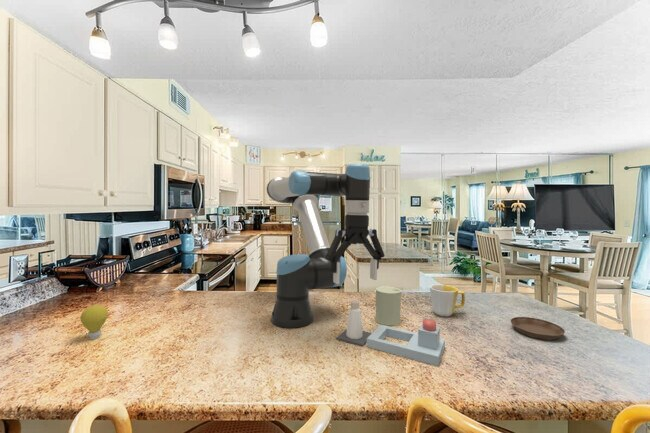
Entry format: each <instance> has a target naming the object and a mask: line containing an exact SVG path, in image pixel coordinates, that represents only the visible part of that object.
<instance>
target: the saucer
mask: <svg viewBox="0 0 650 433" xmlns="http://www.w3.org/2000/svg"><path fill="white" fill-rule="evenodd" d="M510 323H511V325H512V326H513V327H514V328H515V330H517V331H518V332H519V333H520V334H522V335H525V336H527V337H530V338H534V339H538V338H539V340H545V339H547V341H552V339H553V340H556V339H559V338H560V337H562V336H564V335H565V333H566V330H565V329H564V328H563V327H561V326H560V325H558V324H556V323H554V322H550V321H548V320H546V319H545V320H544V319H542V318H535V317H528V316H515V317H512V318H511V319H510Z"/></svg>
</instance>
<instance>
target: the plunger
mask: <svg viewBox="0 0 650 433" xmlns="http://www.w3.org/2000/svg"><path fill="white" fill-rule="evenodd" d="M422 324H423V329H424V330H427V331H435V330H436V327H437V321H435V320H433V319H429V318H427V319H423V320H422Z"/></svg>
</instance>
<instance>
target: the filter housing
mask: <svg viewBox="0 0 650 433" xmlns="http://www.w3.org/2000/svg"><path fill="white" fill-rule="evenodd" d="M371 333H372V334H371V335H370V336H369V337H368V338H367V343H366V348H368V349H369V348H370V349H374V350H377V351H381V352H384V353H388V354H392V355H395V356H398V357H399V356H400V357H403V358H407V359H411V360H414V361H418V362H422V363H426V364H429V365H432V366H437V367H439V365H440V362H441V359H442V356H443V354H444V351H445V348H446V339H445V338H442V337H441V327H439V326H436V330H435V331H427V330H424V329H423V323H421V325H420V326H419V327H418V329H417V332H414V331H410V330H406V329H402V328H397V327H393V326H388V325H382V324H379V325H378V326H377V328H376V329H374V331H372V332H371ZM386 337H389V338H393V339H398V340H402V341H406V342H408V343H407V344H401V343H397V342H394V341H389V340H386V339H385V338H386Z"/></svg>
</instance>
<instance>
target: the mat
mask: <svg viewBox="0 0 650 433" xmlns="http://www.w3.org/2000/svg"><path fill="white" fill-rule="evenodd" d="M346 333H347V328H346V329H345V330H344V331H342V332H341V333H340V334H338V335H337V336H336V337H335V340H337V341H341V342H345V343H348V344H351V345H352V344H353V345H356V346H359V347H364V346H365V345H367V338H368V337H369V336H370V335H371V334H372V333H373V332H370V331H369V332H368V331H365V330H362V333H363V335H362V338H359V339H350V338H349V337H347V336H346Z"/></svg>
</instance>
